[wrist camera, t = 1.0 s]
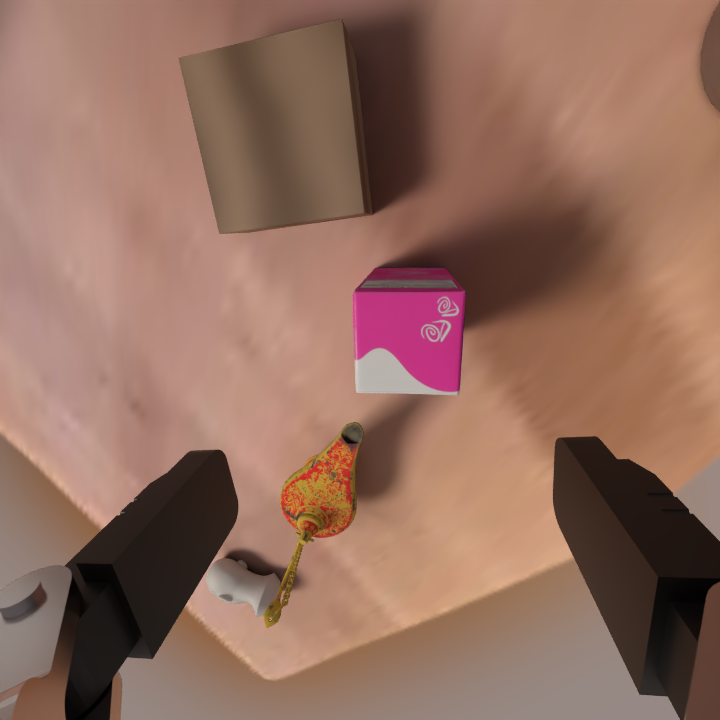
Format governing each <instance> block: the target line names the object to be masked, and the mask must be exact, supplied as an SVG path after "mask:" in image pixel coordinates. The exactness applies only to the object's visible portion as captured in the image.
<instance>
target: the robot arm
mask: <svg viewBox="0 0 720 720" xmlns="http://www.w3.org/2000/svg"><path fill="white" fill-rule="evenodd" d="M701 76H702V81H703V86H704V89H705V91H706V93H707V95H708V97H709V99H710V101H711V103H712V104H713V105H714V106H715V107H716V108H717V110H718V111H719V112H720V2H719V4H718V6H717V7H716V9H715V11H714V12H713V15H712V17H711V20H710V22H709V25H708V27H707V30H706V32H705V36H704V41H703V46H702V50H701ZM553 504H554V511H555V515H556V519H557V522H558V525H559V527H560V529H561V531H562V533H563V536H564V538H565V540H566V542H567V544H568V546H569V548H570V550H571V552H572V554H573V556H574V559H575V561H576V563H577V565H578V567H579V569H580V571H581V573H582V575H583V577H584V579H585V581H586V584H587V586H588V588H589V590H590V592H591V594H592V596H593V598H594V600H595V602H596V604H597V607H598V609H599V611H600V613H601V615H602V617H603V619H604V621H605V623H606V625H607V627H608V629H609V632H610V634H611V635H612V638H613V640H614V642H615V644H616V646H617V648H618V650H619V652H620V654H621V656H622V659H623V661H624V663H625V665H626V667H627V669H628V671H629V673H630V675H631V678H632V679H633V682H634V684H635V686H636V688H637V690H638V692H639V694H640V695H654V696H668V698H669V700H670V701H671V703H672V705H673V707H674V709H675V711H676V713H677V714H678V716H679V718H680V720H720V541H719V540H718V539H717V538H716V537H715V536H714V535H713V534H712V533H711V532H710V531H709V530H708V529H707V528H706V527H705V526H704V525H703V524H702V523H701V522H700V521H699V520H698V519H697V518H696V516H695V515H694V514H690V513H689V509H688V508H687V507H686V506H685V505H684V504H683V503H682V502H681V501H680V500H679V499H678V498H677V497H674V496H673V493H672V492H671V491H670V490H669V489H668V487H667V486H666V485H665V484H664V483H663V482H662V481H661V480H660V479H659V478H658V477H657V476H656V475H655V474H653V473H652V472H650V471H648V470H647V469H645V468H643V467H641V466H640V465H638V464H636V463H634V462H633V461H631V460H629V459H617V458H616V457H615V456H614V455H613V454H612V453H611V451H610V450H609V449H608V448H607V447H606V446H605V445H604V443H603V442H602V441H601V440H600V439H599V438H598V437H595V436H592V437H565V438H558V439H557V440H556V443H555V455H554V481H553ZM237 515H238V499H237V495H236V491H235V488H234V484H233V480H232V477H231V473H230V469H229V466H228V462H227V459H226V456H225V454H224V453H223V452H222V451H221V450H197V451H190V452H188V453H187V454H186V455H185V456H184V457H183V458H182V459H181V460H180V461H179V462H178V463H177V464H176V465H175V466H174V467H173V468H172V469H171V470H170V471H169V472H168V473H166V474H164V475H163V476H161V477H160V478H158V479H157V480H155V481H153V482H152V483H150V484H149V485H148V486H147V487H146V488H145V489H144V490H143V491H142V492H141V493H140V494H139V495H138V496H137V497H136V498H134V502H130V503H129V504H128V505H127V506H126V507H125V508H124V509H123V510H122V511H121V512H120V515H117V516H116V517H115V518H114V519H113V520H112V521H111V522H110V523H109V524H108V525H107V526H105V527H104V528H103V529H102V530H101V531H100V532H99V533H98V534H97V535H96V536H95V537H94V538H93V539H92V540H91V541H90V542H89V543H88V544H87V545H86V546H85V547H84V548H83V549H82V550H81V551H80V552H79V553H78V554H76V555H75V556H74V557H73V558H72V559H71V560H70V561H69V562H68V563H67V564H66V565H65V566H61V565H56V566H49V567H45V568H41V569H38V570H35V571H32V572H30V573H28V574H26V575H23V576H22V577H20V578H18V579H16V580H14V581H12V582H11V583H9V584H7V585H6V586H5V587H3V588H2V589H0V720H121V719H120V718H121V700H122V678H121V675H120V673H119V671H118V670H119V668H120V667H121V666H122V664H123V663H124V661H125V660H126V658H127V657H131V658H147V659H153V658H154V656H155V654H156V653H157V651H158V649H159V647H160V646H161V644H162V643H163V641H164V639H165V638H166V636H167V635H168V633H169V631H170V629H171V628H172V626H173V625H174V623H175V621H176V620H177V618H178V616H179V615H180V613H181V612H182V610H183V608H184V607H185V605H186V603H187V602H188V600H189V598H190V597H191V595H192V594H193V592H194V590H195V589H196V587H197V585H198V584H199V582H200V580H201V579H202V577H203V575H204V574H205V572H206V571H207V569H208V567H209V566H210V564H211V562H212V561H213V559H214V557H215V556H216V554H217V552H218V551H219V549H220V548H221V546H222V544H223V543H224V541H225V539H226V538H227V536H228V534H229V533H230V531H231V529H232V528H233V526H234V524H235V522H236V519H237Z"/></svg>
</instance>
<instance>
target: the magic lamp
mask: <svg viewBox="0 0 720 720" xmlns="http://www.w3.org/2000/svg"><path fill="white" fill-rule="evenodd" d="M362 439H363V429H362V427H361V425H360V424H359V423H357V422H353V423H350V424H347V425H346V426H345V427H344V428H343V429H342V431H341V432H340V434H339V435H338V437H337V438H336V439H335V440H334V441H333V442H332V443H331V444H330V445H329V446H328V447H327V448H326V449H325V450H324V451H323V452H322V453H320V454H319V455H316V456H313V457H312V458H310V459H309V460H308V461H307V462H306V463H305V465H304V467H303V468H301V469H300V470H298V471H297V472H295V473H294V474H293V475H291V476H290V478H289V479H288V480H287V481H286V482H285V484H284V486H283V487H282V491H281V495H280V505H281V509H282V512H283V514H284V516H285V518H286V519H287V521H288V522H289V523H290V524H291V525H292V526H293V527H294V528H295V529H296V530H298V531H300V533H297V532H296V533H295V534H296V535H297V536H300V538H299V541H298V544H297V546H296V549H295V552H294V554H293V556H292V559H291V561H290V564H289V566H288V568H287V571H286V573H285V576H284V578H283V580H282V583H281V586H280V588H279V591H278V594H277V598H276V599H275V600H274V601H273V602H272V603H271V604H269V606H268V607H267V608H266V610H265V613H264V621H265V625H266V628H269V627H270V626H272V625H274V624H275V623H277V622H278V620H279V618H280V615H281V609H282V608H283V606H286V605H287V604H288V598H289V597H290V592H291V587H292V585H293V581H294V576H295V574H296V570H297V566H298V562H299V559H300V555H301V552H302V549H303V548H302V547H303V545H304V544H306V543H307V542H308V540H309V541H311V542H314V540H313V539H311V537H318V538H326V537H332V536H334V535H337V534H339V533H341V532H343V531H344V530H345V529H346V528H348V527H349V525H350V524H351V523H352V521H353V519H354V517H355V514H356V508H357V500H356V491H355V466H356V458H357V454H358V451H359V448H360V445H361V442H362ZM298 552H299V553H300V554H299V553H298ZM298 556H299V557H298ZM295 559H298V561H297V560H295ZM294 563H296V564H297V565H296V564H294ZM293 567H295V569H294V568H293ZM292 569H293V570H292ZM290 570H291V572H290ZM292 572H294V573H292ZM289 573H290V574H289ZM291 573H292V574H291ZM288 575H290V576H289V578H288ZM291 577H293V579H292V578H291ZM287 578H288V582H287V585H286V586H287V587H286V589H285V594H284V596H283V597H284V599H283V600H282V604H281V603H280V598H281V594H282V591H283V588H284V585H285V583H286V580H287ZM289 582H291V583H289ZM288 584H289V585H288ZM288 587H290V590H289V589H287V588H288ZM286 593H288V595H286ZM285 595H286V596H285ZM285 599H287V602H286V601H284V600H285ZM271 619H272V620H271ZM269 620H271V621H269Z"/></svg>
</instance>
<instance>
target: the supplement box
mask: <svg viewBox="0 0 720 720" xmlns="http://www.w3.org/2000/svg"><path fill="white" fill-rule="evenodd" d="M465 299H466V291H465V290H464V289H463V288H462V287H461V286H460V284H459V283H458V282H457V281H456V280H455V279H454V277H453V276H452V275H451V274H450V273H449V271H448V270H447V269H446V268H443V267H431V268H375V269H374V270H373V271H372V272H371V273H370V274H369V275H368V276H367V278H366V279H365V280H364V281H363V282H362V283H361V284H360V285H359V286H358V287H357V288H356V289H355V291H354V293H353V332H354V355H355V382H356V392H357V393H399V394H435V395H458V394H459V390H460V377H461V362H462V348H463V330H464V315H465Z"/></svg>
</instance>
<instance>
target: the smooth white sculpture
mask: <svg viewBox="0 0 720 720" xmlns="http://www.w3.org/2000/svg"><path fill="white" fill-rule="evenodd" d="M206 582H207V586H208V589H209V590H210V591H211V592H212V593H213V594H214V595H215V596H216V597H218V598H219V599H221V600H223V601H225V602H227V603H234V604H237V603H245V602H248V603H250V604H251V605H252V606H253V608H254V610H255V614H256V616H262V615H264V613H265V610H266V608H267V607H268V606H269V604H271V603H272V602H273V601H274V600H275V599H276V598H277V594H278V591H279V588H280V580H279V578H278V577H277V575H276V574H275V573H272V574H270V575H266V576H261V575H257V574H255V573H252V572H250V571H248V570H247V565H246V563H245V562H244V561H242V560H238V561H237V562H236V561H234V560H232V559H228V558H223V559H219V560H217V561H216V562H214V563H213V564H212V566H211V567H210V569H209V571H208V573H207V578H206Z"/></svg>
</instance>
